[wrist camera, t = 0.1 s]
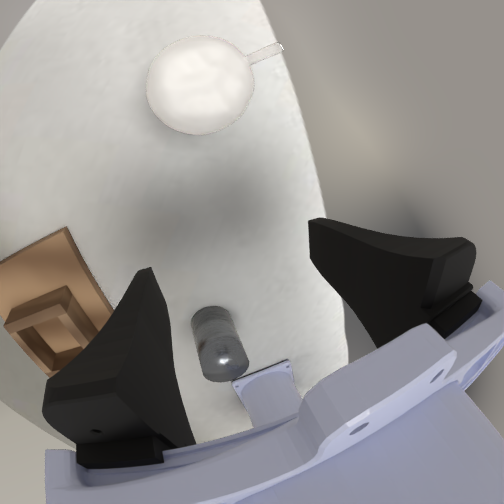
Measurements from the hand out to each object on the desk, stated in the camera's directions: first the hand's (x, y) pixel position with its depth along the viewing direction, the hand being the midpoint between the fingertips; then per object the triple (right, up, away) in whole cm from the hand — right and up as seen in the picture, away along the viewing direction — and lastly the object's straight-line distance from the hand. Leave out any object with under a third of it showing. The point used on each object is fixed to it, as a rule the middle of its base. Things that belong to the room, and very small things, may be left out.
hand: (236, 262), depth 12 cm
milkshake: (-4, +11, +4) cm, 13 cm away
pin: (-3, -6, +14) cm, 16 cm away
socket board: (-18, -6, +9) cm, 21 cm away
